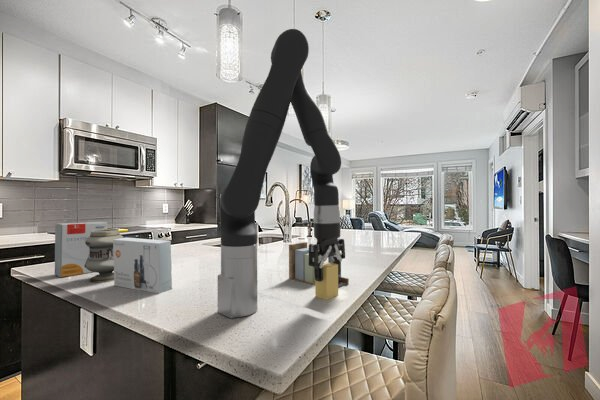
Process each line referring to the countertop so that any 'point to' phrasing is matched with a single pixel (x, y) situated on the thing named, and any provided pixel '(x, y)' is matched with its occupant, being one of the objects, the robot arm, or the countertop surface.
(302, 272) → the book slate
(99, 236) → the apothecary jar
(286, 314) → the countertop surface
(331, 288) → the book ochre
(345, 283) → the bookend
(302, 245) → the book trough
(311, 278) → the book sage
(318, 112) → the robot arm
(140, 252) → the skincare box
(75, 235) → the hard drive box
